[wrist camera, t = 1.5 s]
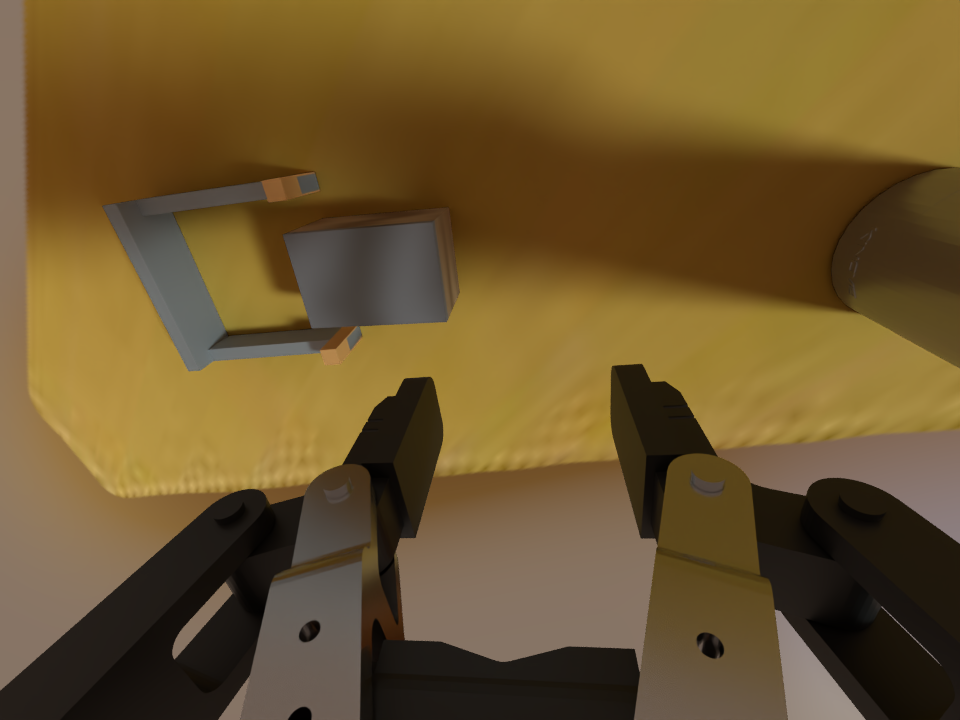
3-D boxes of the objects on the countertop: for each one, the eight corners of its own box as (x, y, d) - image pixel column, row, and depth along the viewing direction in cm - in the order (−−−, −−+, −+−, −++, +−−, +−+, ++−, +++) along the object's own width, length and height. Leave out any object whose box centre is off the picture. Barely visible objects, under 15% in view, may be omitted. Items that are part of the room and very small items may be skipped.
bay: (314, 171, 28) (280, 178, 24) (362, 337, 33) (340, 364, 30) (151, 195, 30) (95, 205, 26) (222, 348, 35) (185, 375, 31)
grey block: (449, 206, 28) (432, 222, 23) (459, 292, 31) (446, 321, 26) (323, 217, 29) (282, 234, 24) (344, 298, 32) (311, 328, 27)
